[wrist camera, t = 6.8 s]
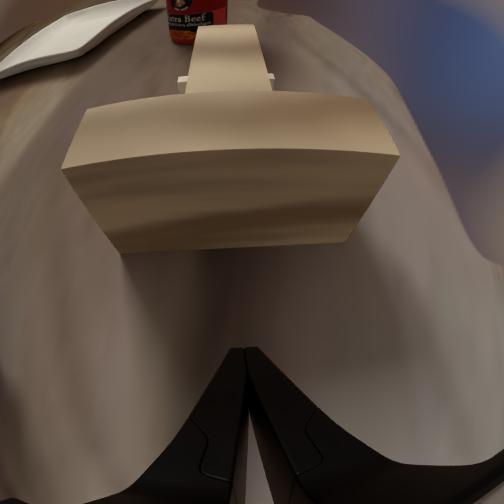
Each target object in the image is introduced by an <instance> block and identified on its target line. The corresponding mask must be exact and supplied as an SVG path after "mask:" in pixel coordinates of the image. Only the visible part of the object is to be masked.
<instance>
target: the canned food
mask: <svg viewBox="0 0 504 504" xmlns="http://www.w3.org/2000/svg"><path fill="white" fill-rule="evenodd" d="M227 1H228V0H166V4H167V14H168V23H169V32H170V36H171V38H172V40H173V41H174V42H176V43H180V44H194V43H195V39H196V34H197V30H198V26H209V25H227Z"/></svg>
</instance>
